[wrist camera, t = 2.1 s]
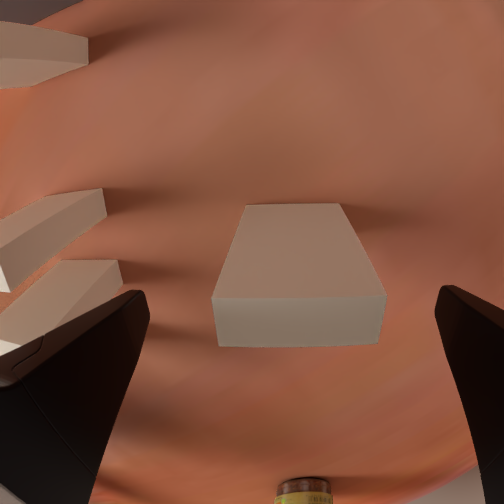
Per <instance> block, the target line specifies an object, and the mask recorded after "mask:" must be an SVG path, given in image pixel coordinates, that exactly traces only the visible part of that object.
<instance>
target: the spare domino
mask: <svg viewBox="0 0 504 504" xmlns="http://www.w3.org/2000/svg"><path fill="white" fill-rule="evenodd" d="M211 300H212V307H213V313H214V320H215V326H216V333H217V339H218V345H219V346H226V347H326V346H349V345H367V344H378V340H379V335H380V331H381V326H382V321H383V316H384V311H385V306H386V300H387V293H386V291H385V289H384V287H383V285H382V283H381V281H380V279H379V277H378V275H377V273H376V271H375V269H374V267H373V265H372V263H371V261H370V259H369V257H368V255H367V254H366V252H365V250H364V248H363V246H362V244H361V242H360V240H359V238H358V237H357V235H356V233H355V231H354V229H353V227H352V226H351V224H350V222H349V220H348V218H347V217H346V215H345V213H344V211H343V210H342V208H341V206H340V204H339V203H305V204H258V205H246V206H245V209H244V212H243V214H242V217H241V219H240V222H239V225H238V227H237V230H236V233H235V235H234V238H233V241H232V243H231V246H230V249H229V251H228V254H227V257H226V259H225V262H224V265H223V267H222V270H221V273H220V276H219V278H218V281H217V284H216V286H215V289H214V292H213V295H212V297H211Z"/></svg>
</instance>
